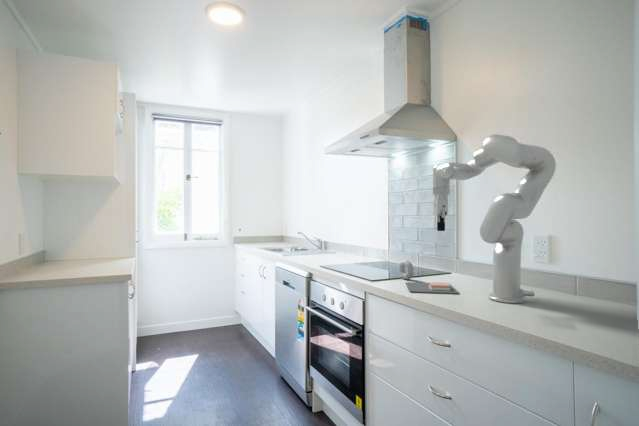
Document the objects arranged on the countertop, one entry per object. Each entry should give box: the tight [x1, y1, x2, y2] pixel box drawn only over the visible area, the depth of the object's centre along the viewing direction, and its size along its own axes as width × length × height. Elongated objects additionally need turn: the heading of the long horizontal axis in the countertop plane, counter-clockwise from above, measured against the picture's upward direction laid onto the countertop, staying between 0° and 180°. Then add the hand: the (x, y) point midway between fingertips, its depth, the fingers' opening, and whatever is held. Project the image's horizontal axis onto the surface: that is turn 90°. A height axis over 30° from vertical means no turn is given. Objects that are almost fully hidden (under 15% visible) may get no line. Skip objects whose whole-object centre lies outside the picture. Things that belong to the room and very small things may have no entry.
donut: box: [397, 259, 415, 280], centre depth 185 cm, size 10×3×10 cm, turn 27°
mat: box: [405, 281, 460, 295], centre depth 163 cm, size 20×20×1 cm
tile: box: [428, 281, 452, 290], centre depth 161 cm, size 8×2×7 cm
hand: (441, 230), depth 171 cm, fingers closed
